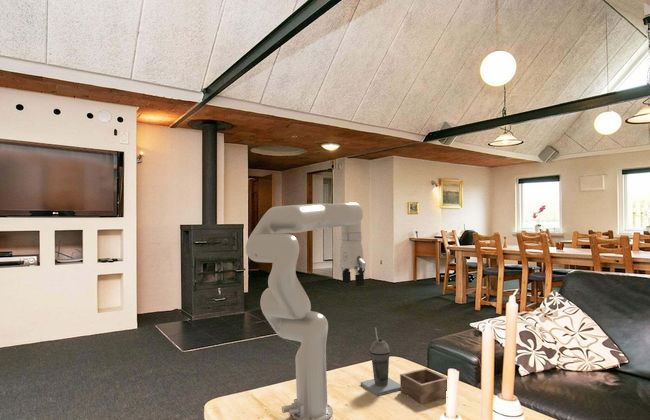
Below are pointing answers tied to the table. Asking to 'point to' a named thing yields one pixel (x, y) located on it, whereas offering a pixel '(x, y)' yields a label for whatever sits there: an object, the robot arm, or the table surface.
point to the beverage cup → (380, 361)
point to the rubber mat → (378, 390)
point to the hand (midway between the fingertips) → (353, 283)
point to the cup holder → (423, 385)
